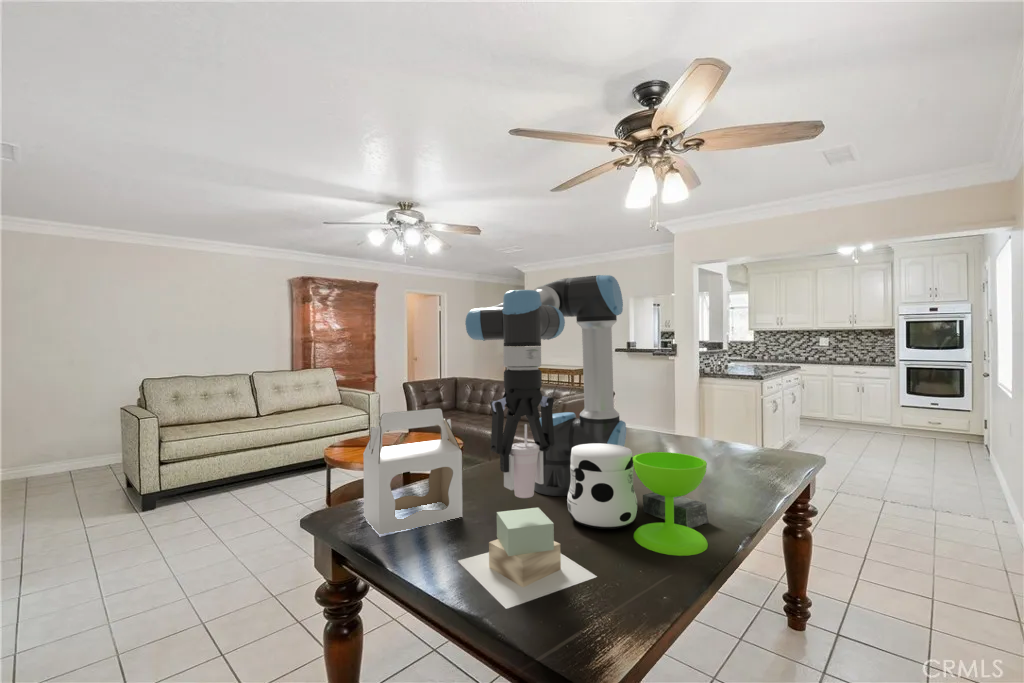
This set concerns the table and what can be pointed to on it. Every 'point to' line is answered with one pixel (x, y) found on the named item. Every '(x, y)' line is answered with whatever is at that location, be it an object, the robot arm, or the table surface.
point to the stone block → (677, 509)
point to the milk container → (602, 486)
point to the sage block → (525, 531)
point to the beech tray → (524, 563)
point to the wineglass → (670, 501)
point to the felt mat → (515, 594)
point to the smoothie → (524, 466)
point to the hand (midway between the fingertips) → (523, 485)
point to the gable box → (412, 457)
